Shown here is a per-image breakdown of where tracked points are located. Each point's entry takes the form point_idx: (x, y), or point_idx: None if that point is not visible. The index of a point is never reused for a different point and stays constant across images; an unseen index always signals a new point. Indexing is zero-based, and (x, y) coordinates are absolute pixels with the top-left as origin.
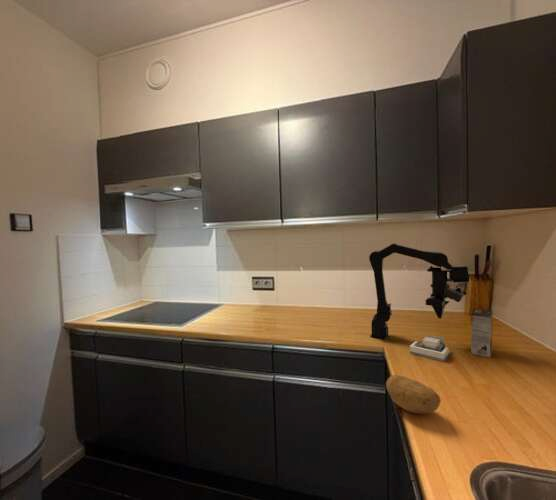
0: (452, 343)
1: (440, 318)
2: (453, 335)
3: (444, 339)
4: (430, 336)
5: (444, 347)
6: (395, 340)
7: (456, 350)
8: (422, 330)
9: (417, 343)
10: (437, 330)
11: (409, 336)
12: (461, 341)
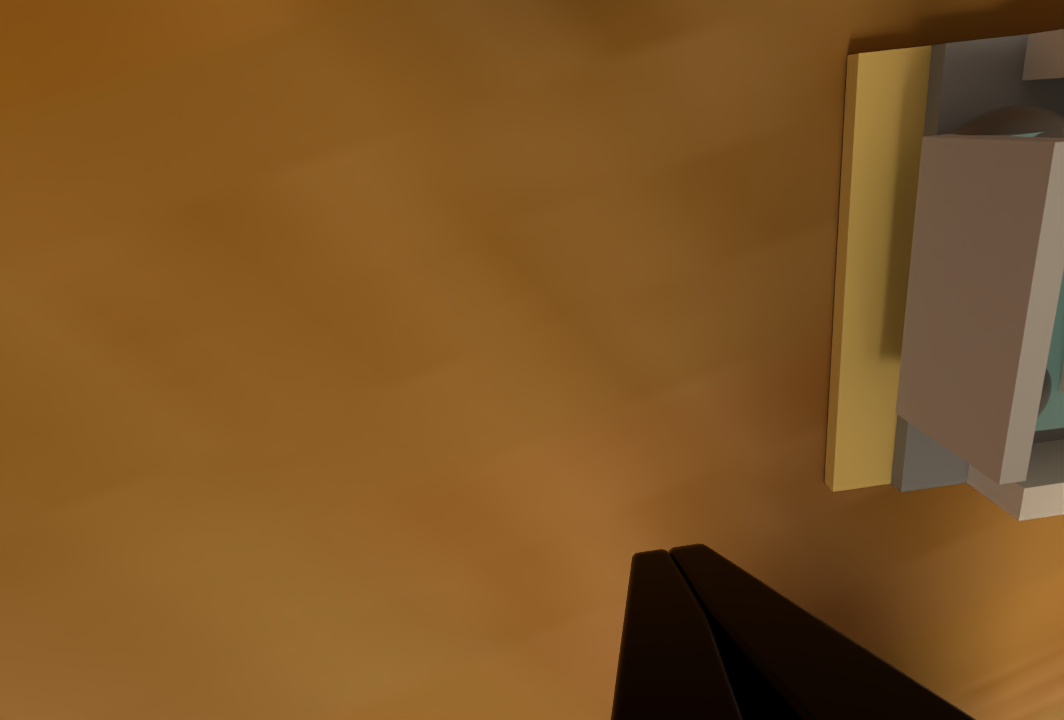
0: (438, 171)
1: (705, 555)
2: (20, 297)
3: (1061, 138)
4: (1027, 392)
5: (1037, 108)
6: None
7: (717, 11)
8: (209, 689)
9: (1038, 471)
10: (8, 562)
11: (584, 683)
12: (217, 86)
